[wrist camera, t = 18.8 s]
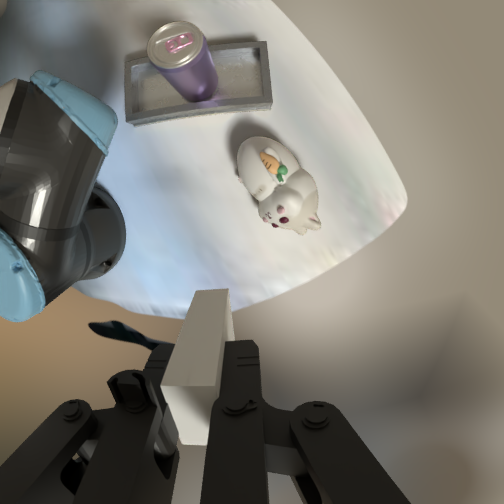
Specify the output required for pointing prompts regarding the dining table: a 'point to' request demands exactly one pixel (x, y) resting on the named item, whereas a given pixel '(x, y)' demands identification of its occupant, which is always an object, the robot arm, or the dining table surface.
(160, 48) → the beverage can
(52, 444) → the robot arm
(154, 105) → the grey shallow rectangular tray
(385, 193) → the dining table surface
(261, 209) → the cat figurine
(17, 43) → the dining table surface
